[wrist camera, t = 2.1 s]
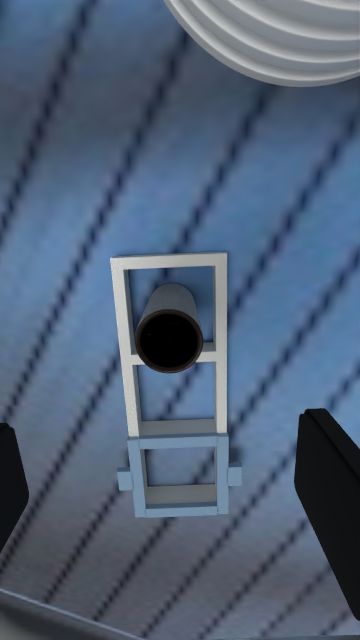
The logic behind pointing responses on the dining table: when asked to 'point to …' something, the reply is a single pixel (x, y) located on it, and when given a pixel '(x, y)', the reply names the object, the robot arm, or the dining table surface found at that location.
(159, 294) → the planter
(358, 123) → the dining table surface
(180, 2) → the plate stack
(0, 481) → the robot arm
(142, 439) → the white ladder frame
